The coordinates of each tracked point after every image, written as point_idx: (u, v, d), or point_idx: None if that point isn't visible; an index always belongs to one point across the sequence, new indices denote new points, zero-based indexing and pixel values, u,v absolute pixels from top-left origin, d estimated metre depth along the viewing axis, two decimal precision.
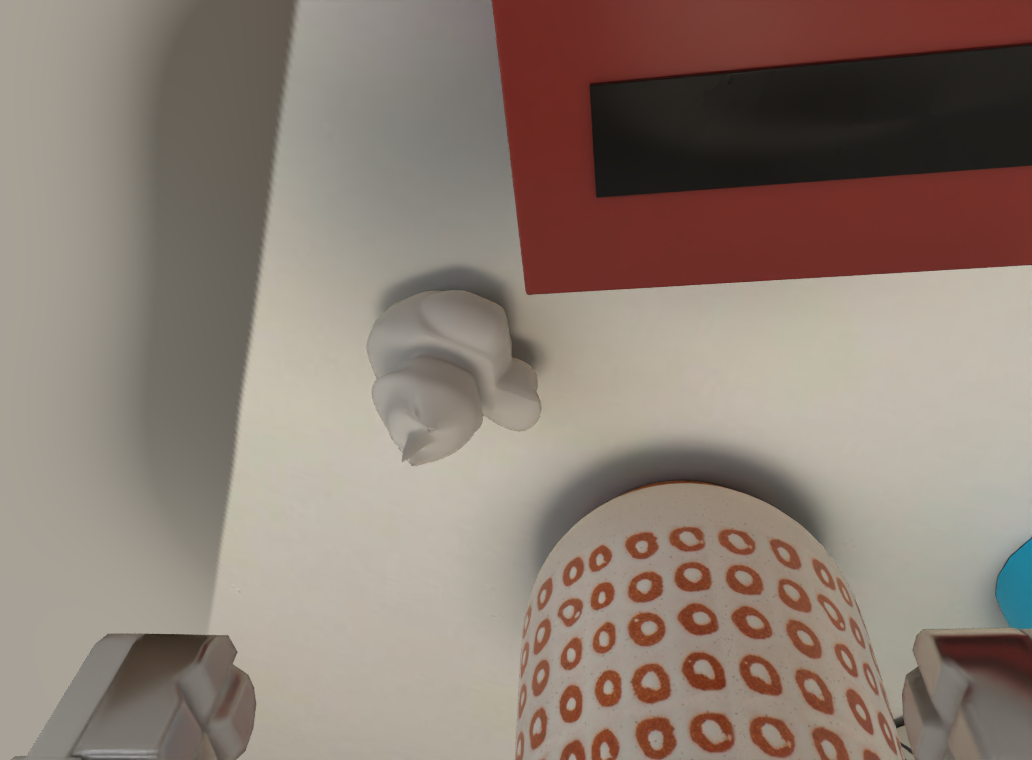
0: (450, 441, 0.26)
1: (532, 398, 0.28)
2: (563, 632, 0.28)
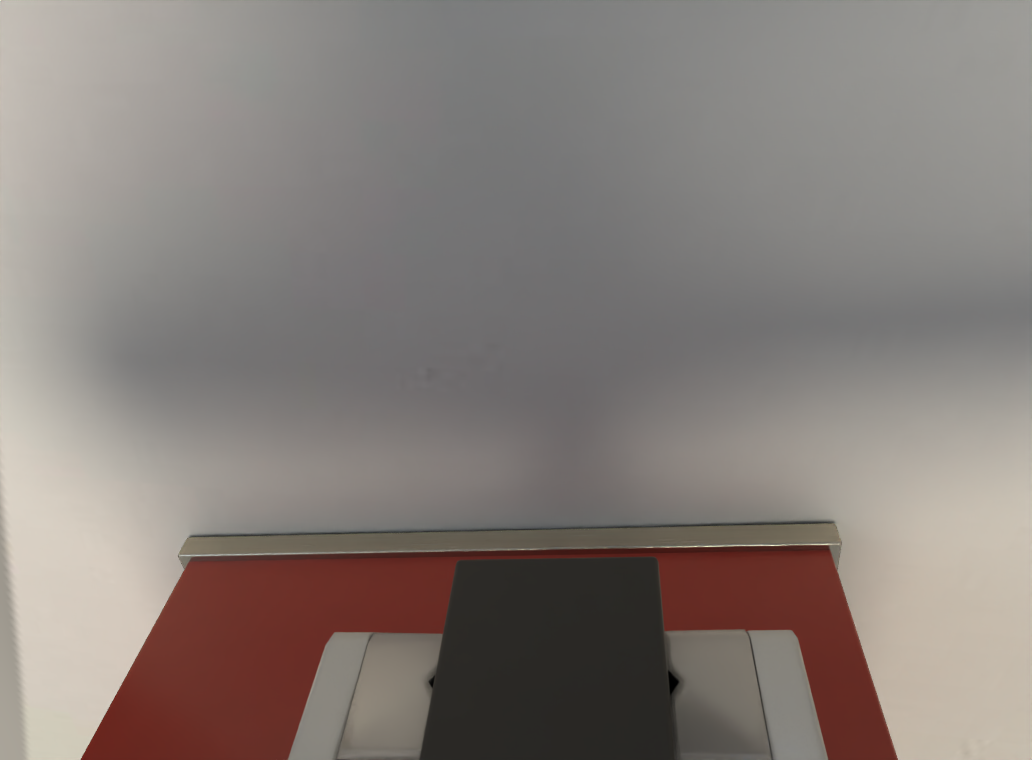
0: None
1: None
2: None
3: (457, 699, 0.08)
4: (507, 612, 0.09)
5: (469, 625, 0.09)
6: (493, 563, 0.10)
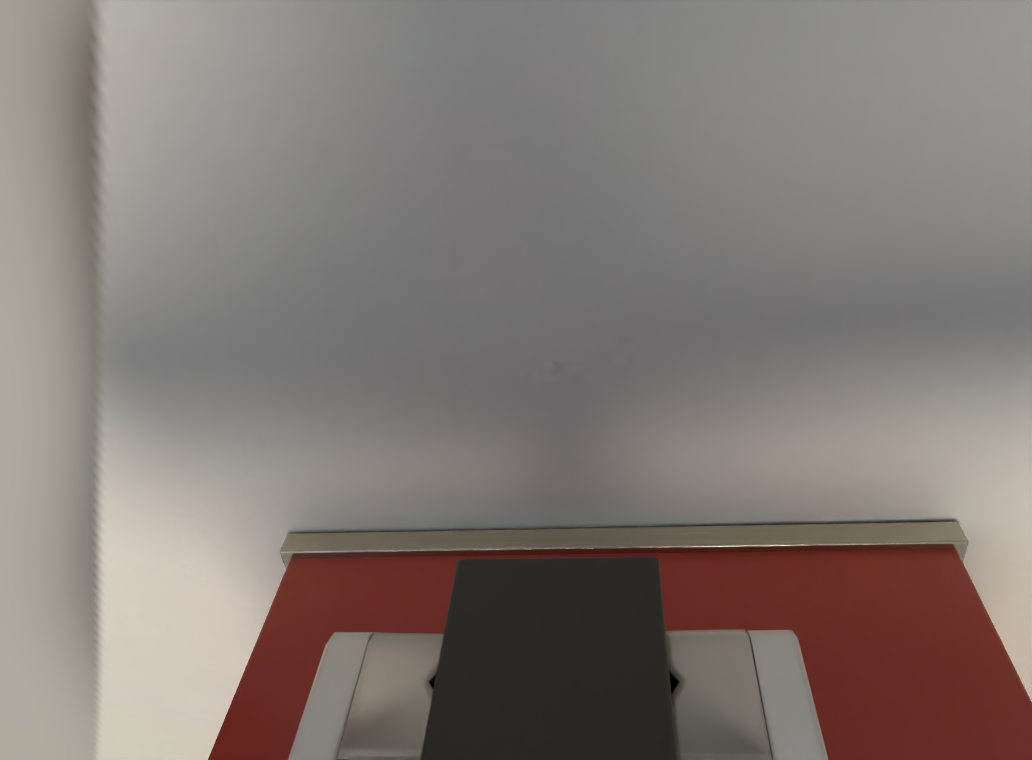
0: None
1: None
2: None
3: (458, 698, 0.08)
4: (508, 611, 0.09)
5: (470, 624, 0.09)
6: (494, 562, 0.10)
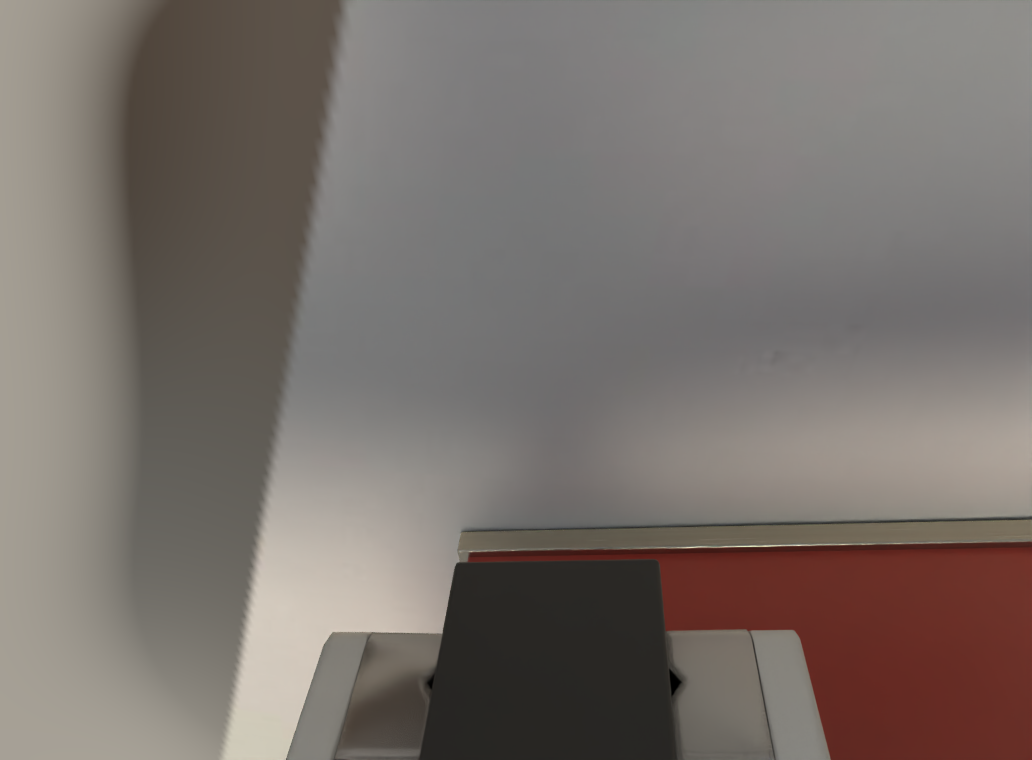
0: None
1: None
2: None
3: (456, 704, 0.08)
4: (508, 614, 0.09)
5: (468, 629, 0.09)
6: (493, 566, 0.09)
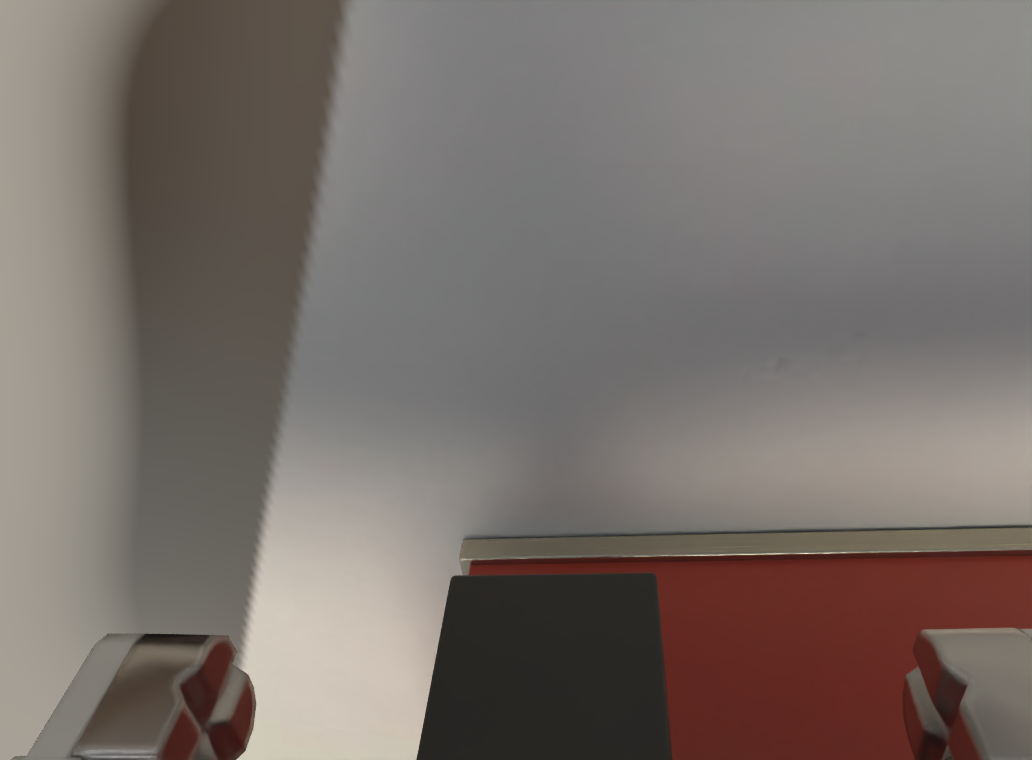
0: None
1: None
2: None
3: (451, 721, 0.08)
4: (504, 629, 0.09)
5: (464, 644, 0.09)
6: (489, 580, 0.09)
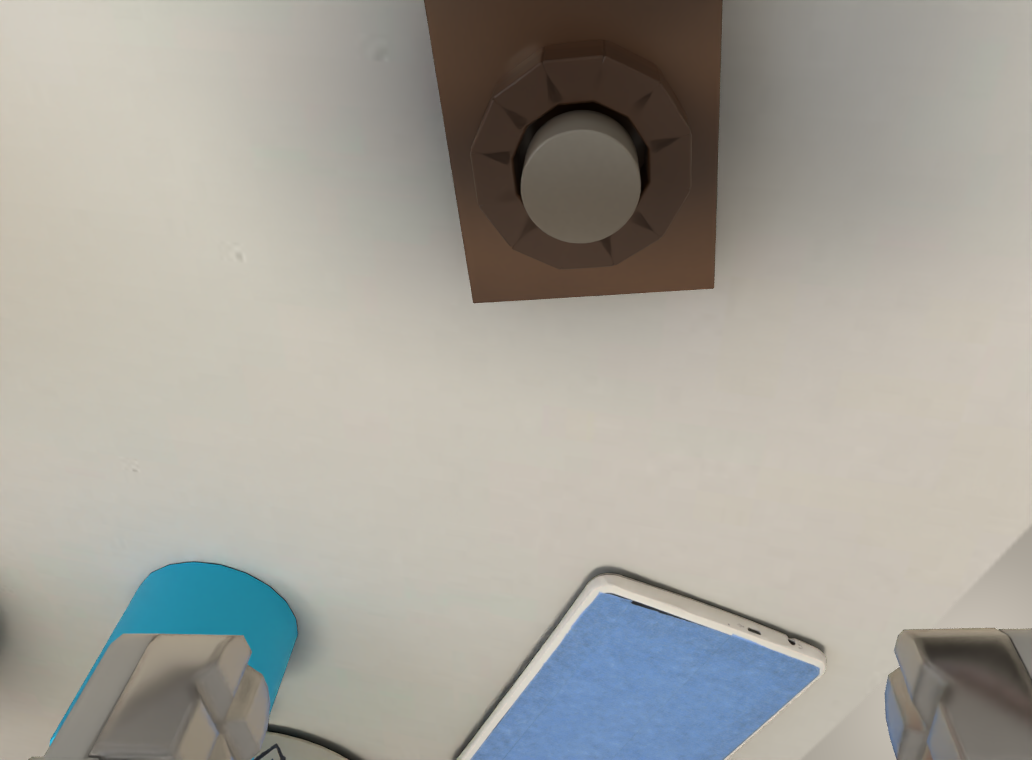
0: None
1: None
2: None
3: None
4: None
5: None
6: None
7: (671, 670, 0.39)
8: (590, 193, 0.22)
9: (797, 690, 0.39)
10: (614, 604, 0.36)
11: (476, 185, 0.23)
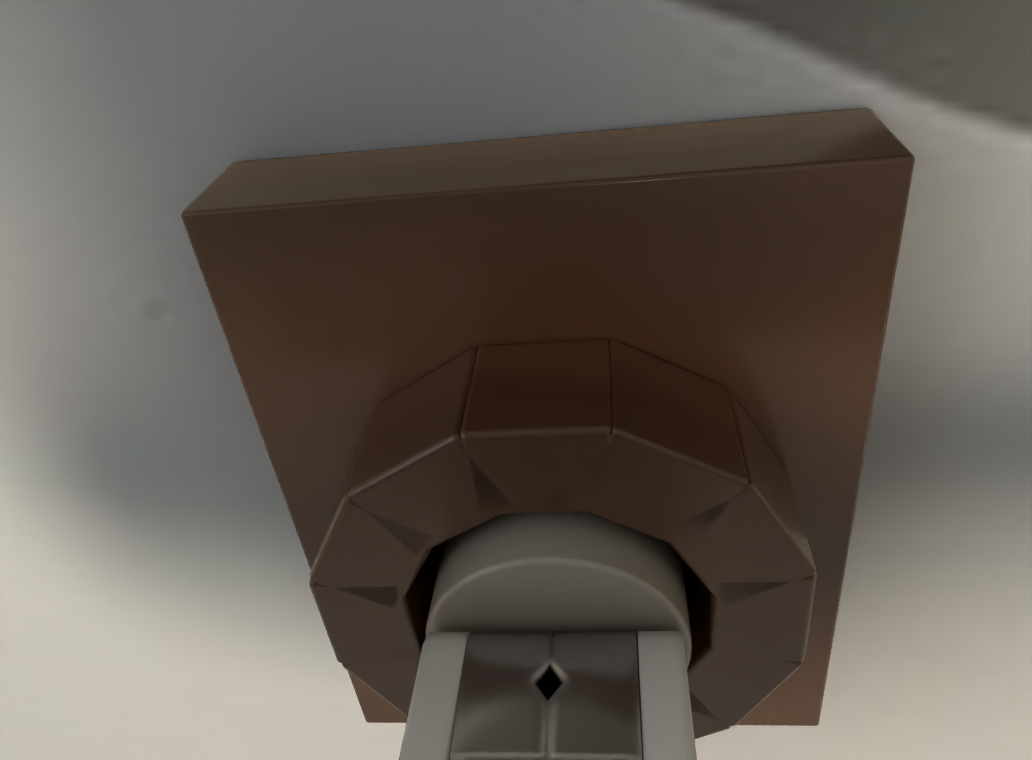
0: None
1: None
2: None
3: None
4: None
5: None
6: None
7: None
8: None
9: None
10: None
11: (330, 633, 0.11)
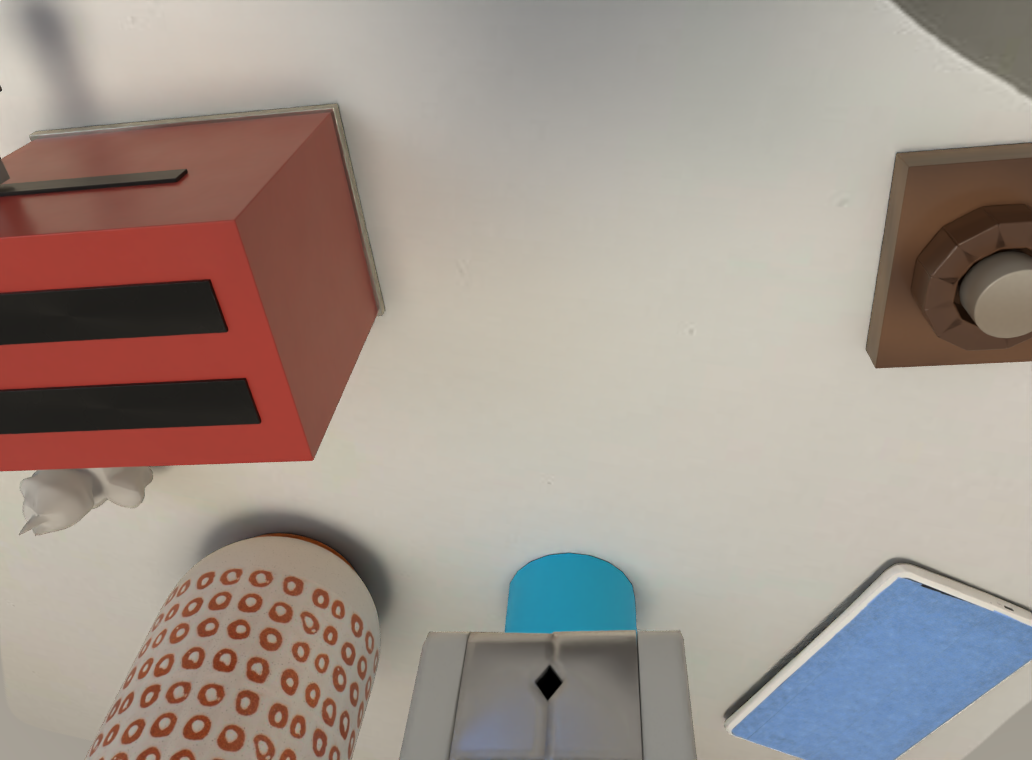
0: (61, 519, 0.43)
1: (133, 489, 0.45)
2: (149, 635, 0.45)
3: None
4: None
5: None
6: None
7: (937, 639, 0.50)
8: (1022, 307, 0.33)
9: None
10: (907, 586, 0.48)
11: (927, 297, 0.35)
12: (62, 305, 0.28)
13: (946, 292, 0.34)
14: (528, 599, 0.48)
